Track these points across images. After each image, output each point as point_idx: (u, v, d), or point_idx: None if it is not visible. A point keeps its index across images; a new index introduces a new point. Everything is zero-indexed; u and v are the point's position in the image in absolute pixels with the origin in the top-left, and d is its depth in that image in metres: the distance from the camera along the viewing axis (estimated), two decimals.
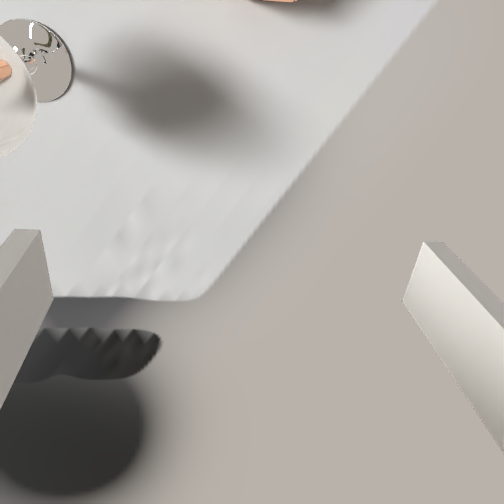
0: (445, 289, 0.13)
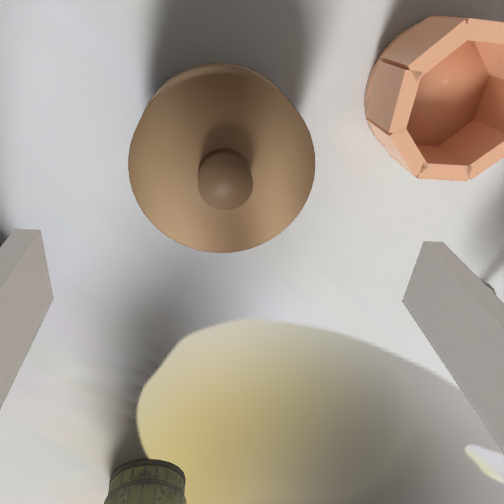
0: (445, 288, 0.13)
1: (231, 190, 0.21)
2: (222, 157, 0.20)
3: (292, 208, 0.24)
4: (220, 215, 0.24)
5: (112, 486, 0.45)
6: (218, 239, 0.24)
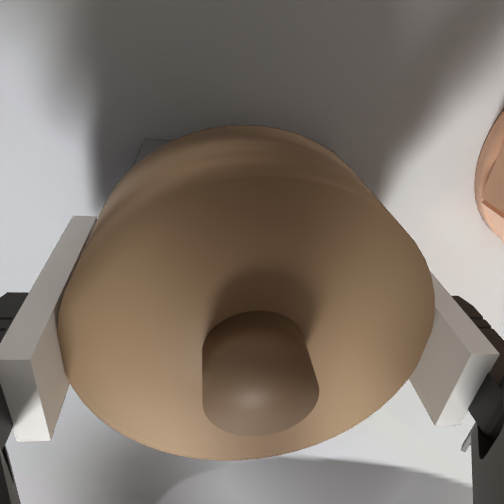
0: None
1: (273, 406, 0.10)
2: (256, 350, 0.09)
3: (378, 394, 0.13)
4: None
5: None
6: (239, 443, 0.13)
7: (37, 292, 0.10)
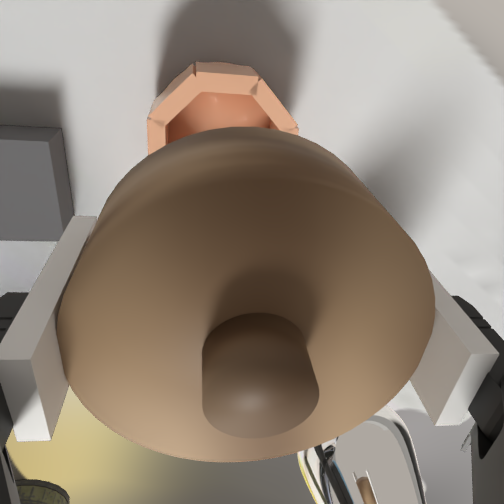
0: None
1: (273, 408, 0.10)
2: (257, 352, 0.09)
3: (378, 395, 0.13)
4: None
5: None
6: (239, 445, 0.13)
7: (37, 292, 0.10)
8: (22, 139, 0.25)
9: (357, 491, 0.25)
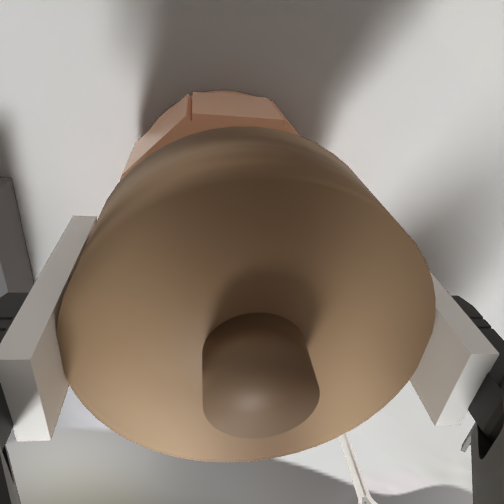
0: None
1: (273, 408, 0.10)
2: (257, 352, 0.09)
3: (379, 395, 0.13)
4: None
5: None
6: (239, 445, 0.13)
7: (37, 292, 0.10)
8: None
9: None
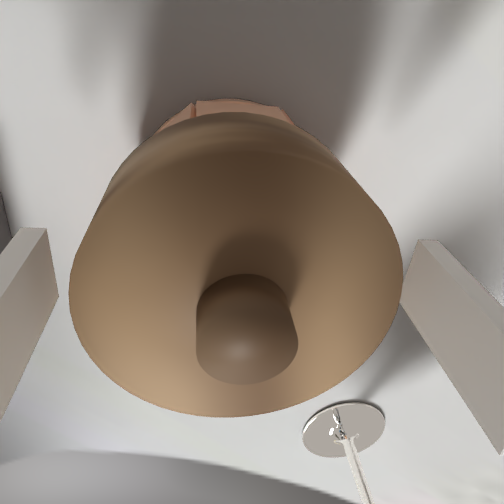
0: (440, 286, 0.13)
1: (258, 356, 0.11)
2: (243, 304, 0.11)
3: (356, 354, 0.14)
4: None
5: None
6: (230, 400, 0.15)
7: None
8: None
9: None
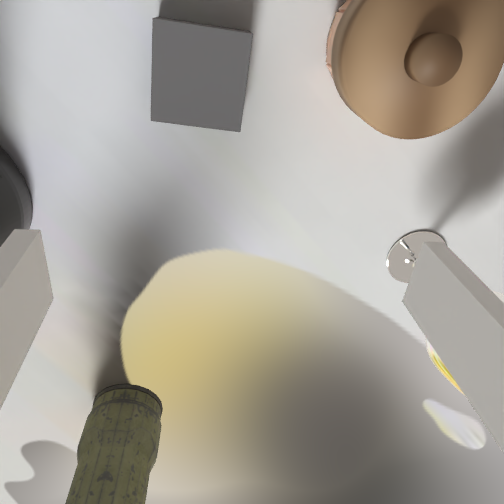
0: (445, 288, 0.13)
1: (441, 66, 0.24)
2: (441, 33, 0.23)
3: (475, 98, 0.27)
4: (411, 100, 0.27)
5: (95, 405, 0.50)
6: (403, 124, 0.27)
7: None
8: (231, 30, 0.29)
9: None
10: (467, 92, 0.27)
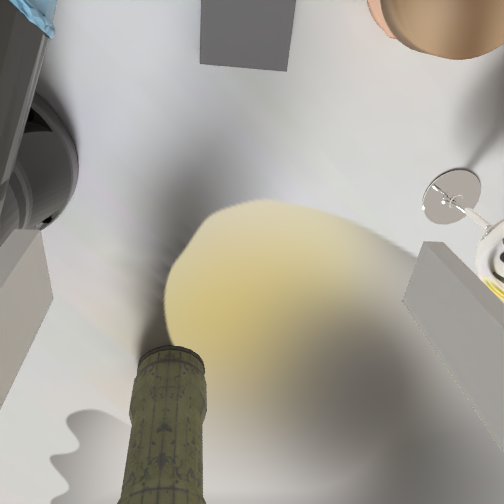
0: (445, 288, 0.13)
1: None
2: None
3: None
4: (464, 18, 0.27)
5: (141, 367, 0.51)
6: (456, 44, 0.28)
7: None
8: None
9: None
10: None
